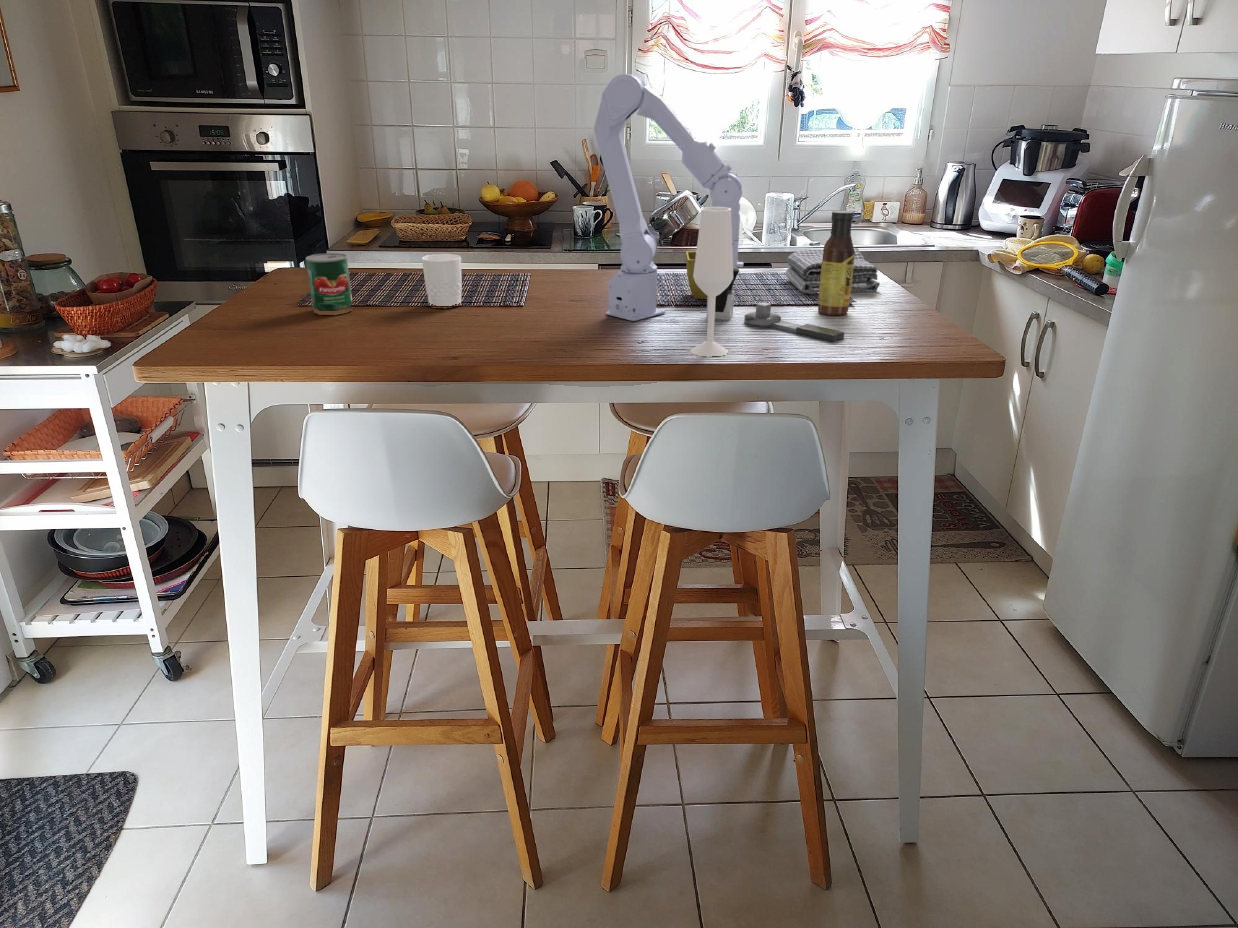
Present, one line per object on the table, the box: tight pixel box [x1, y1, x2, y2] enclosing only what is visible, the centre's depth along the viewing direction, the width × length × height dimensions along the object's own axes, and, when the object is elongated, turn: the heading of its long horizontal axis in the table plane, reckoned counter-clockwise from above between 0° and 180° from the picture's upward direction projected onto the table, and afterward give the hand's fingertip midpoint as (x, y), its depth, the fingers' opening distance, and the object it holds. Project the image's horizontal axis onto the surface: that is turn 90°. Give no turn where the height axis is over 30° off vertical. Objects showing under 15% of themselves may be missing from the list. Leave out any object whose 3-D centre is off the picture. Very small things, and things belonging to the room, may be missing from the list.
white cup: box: [421, 253, 463, 306], centre depth 175 cm, size 8×8×10 cm
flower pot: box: [685, 251, 708, 300], centre depth 183 cm, size 9×9×9 cm
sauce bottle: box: [817, 210, 855, 316], centre depth 168 cm, size 7×6×20 cm
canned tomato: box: [305, 252, 353, 311], centre depth 171 cm, size 8×8×11 cm
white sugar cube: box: [706, 289, 735, 321], centre depth 168 cm, size 5×5×5 cm
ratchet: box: [743, 301, 845, 344], centre depth 160 cm, size 20×7×4 cm, turn 45°
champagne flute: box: [690, 206, 733, 358], centre depth 142 cm, size 7×7×24 cm
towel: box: [785, 247, 881, 294], centre depth 193 cm, size 15×18×8 cm
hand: (720, 308), depth 169 cm, fingers closed on white sugar cube, 5 cm apart
